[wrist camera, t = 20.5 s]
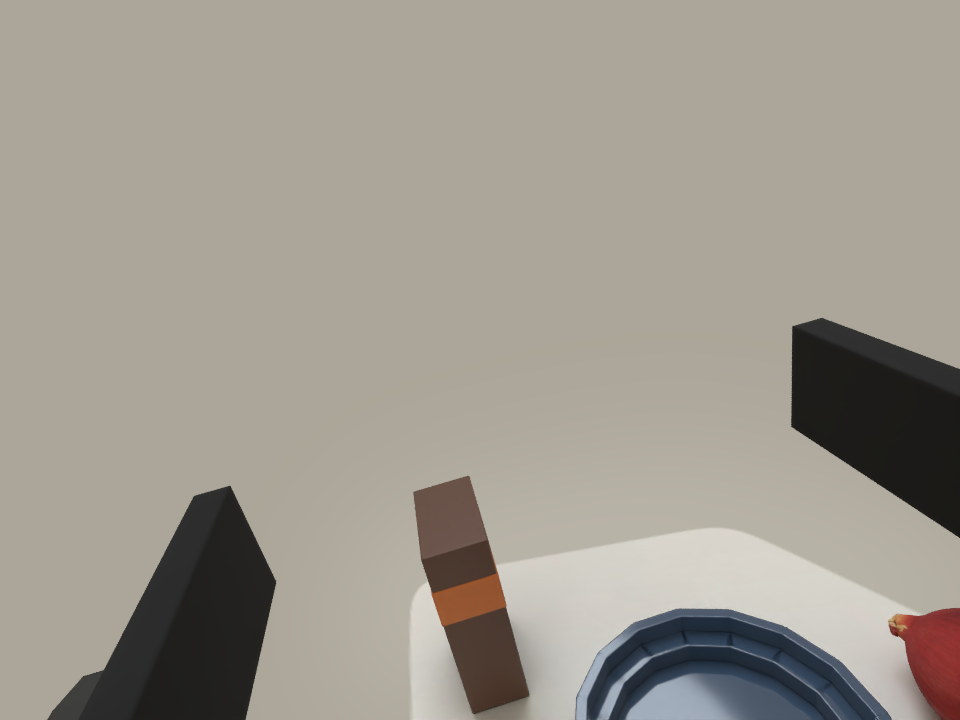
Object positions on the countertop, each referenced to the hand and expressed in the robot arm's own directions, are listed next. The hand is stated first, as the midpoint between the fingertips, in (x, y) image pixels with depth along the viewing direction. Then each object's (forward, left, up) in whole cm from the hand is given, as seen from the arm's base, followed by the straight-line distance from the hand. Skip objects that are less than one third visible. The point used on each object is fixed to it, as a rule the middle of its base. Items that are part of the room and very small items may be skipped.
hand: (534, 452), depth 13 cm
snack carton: (+3, -15, -24) cm, 28 cm away
